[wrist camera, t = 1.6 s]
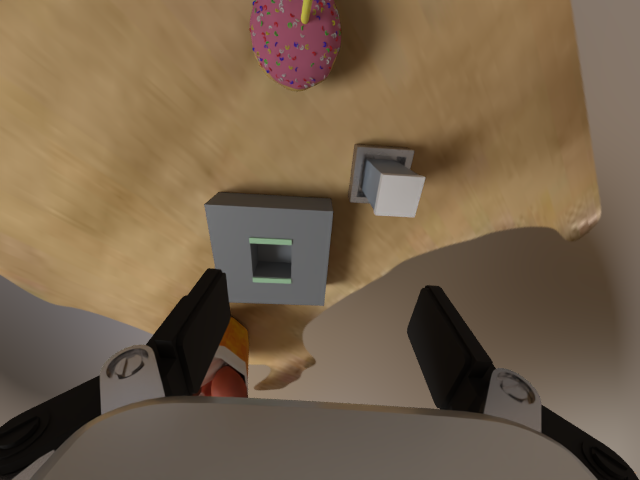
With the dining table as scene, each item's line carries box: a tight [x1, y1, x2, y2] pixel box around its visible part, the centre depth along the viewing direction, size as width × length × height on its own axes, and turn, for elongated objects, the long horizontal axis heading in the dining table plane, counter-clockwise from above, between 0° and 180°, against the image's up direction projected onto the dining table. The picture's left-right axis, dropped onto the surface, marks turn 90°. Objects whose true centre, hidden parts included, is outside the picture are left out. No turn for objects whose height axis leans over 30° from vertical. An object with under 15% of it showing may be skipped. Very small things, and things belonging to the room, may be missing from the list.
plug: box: [361, 158, 426, 217], centre depth 28 cm, size 4×4×10 cm
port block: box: [204, 192, 333, 306], centre depth 36 cm, size 16×16×5 cm
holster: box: [348, 144, 414, 203], centre depth 32 cm, size 7×7×2 cm
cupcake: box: [249, 0, 341, 91], centre depth 21 cm, size 9×8×12 cm
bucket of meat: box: [192, 317, 249, 398], centre depth 39 cm, size 20×16×20 cm
